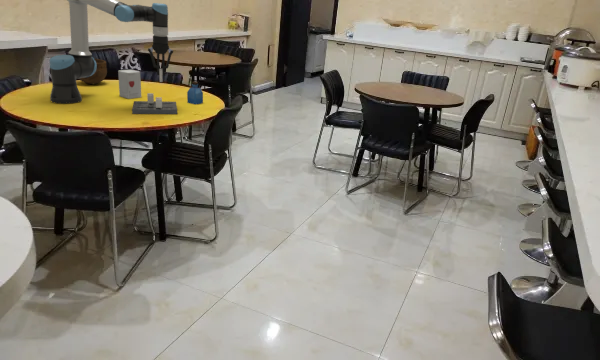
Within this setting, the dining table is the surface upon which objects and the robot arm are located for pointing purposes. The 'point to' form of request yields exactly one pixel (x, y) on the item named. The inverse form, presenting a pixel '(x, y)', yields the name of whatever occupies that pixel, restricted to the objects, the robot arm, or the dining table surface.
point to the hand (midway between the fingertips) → (161, 81)
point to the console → (154, 108)
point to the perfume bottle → (195, 94)
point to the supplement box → (129, 83)
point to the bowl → (97, 73)
